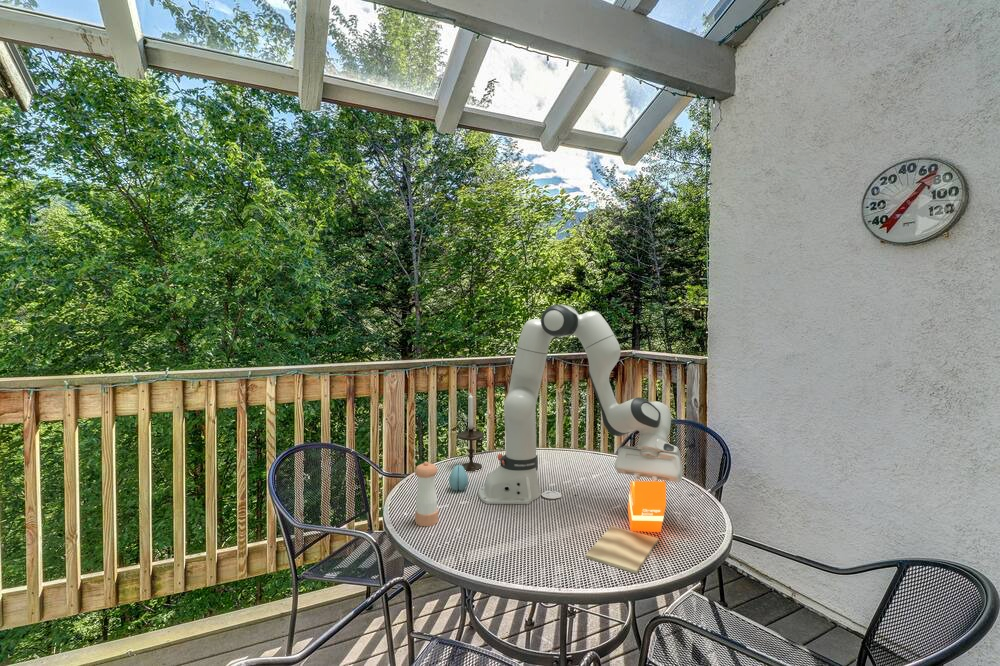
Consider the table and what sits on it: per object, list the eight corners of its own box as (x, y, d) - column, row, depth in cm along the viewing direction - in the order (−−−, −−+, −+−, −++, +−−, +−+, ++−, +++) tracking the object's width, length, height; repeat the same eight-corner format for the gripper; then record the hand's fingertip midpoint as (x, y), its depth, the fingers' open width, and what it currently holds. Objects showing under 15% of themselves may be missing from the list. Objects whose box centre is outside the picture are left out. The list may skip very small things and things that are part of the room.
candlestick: (481, 473, 191) (480, 388, 189) (455, 471, 193) (454, 387, 191) (486, 464, 202) (485, 383, 200) (461, 463, 204) (461, 383, 202)
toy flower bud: (469, 460, 183) (467, 468, 171) (469, 483, 183) (467, 493, 171) (450, 460, 183) (448, 468, 171) (450, 483, 183) (448, 493, 171)
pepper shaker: (431, 528, 144) (430, 467, 143) (410, 524, 147) (409, 464, 146) (442, 518, 151) (441, 459, 150) (422, 514, 154) (421, 457, 153)
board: (636, 573, 120) (636, 570, 120) (585, 557, 127) (585, 554, 127) (658, 540, 136) (658, 538, 136) (611, 528, 144) (611, 525, 144)
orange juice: (627, 508, 148) (632, 469, 136) (656, 508, 147) (663, 469, 135) (630, 531, 142) (635, 493, 130) (660, 532, 141) (669, 494, 129)
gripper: (617, 440, 154) (607, 478, 146) (683, 448, 143) (676, 490, 135) (621, 449, 158) (613, 488, 150) (686, 458, 147) (680, 500, 139)
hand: (643, 489), depth 143 cm, fingers closed
